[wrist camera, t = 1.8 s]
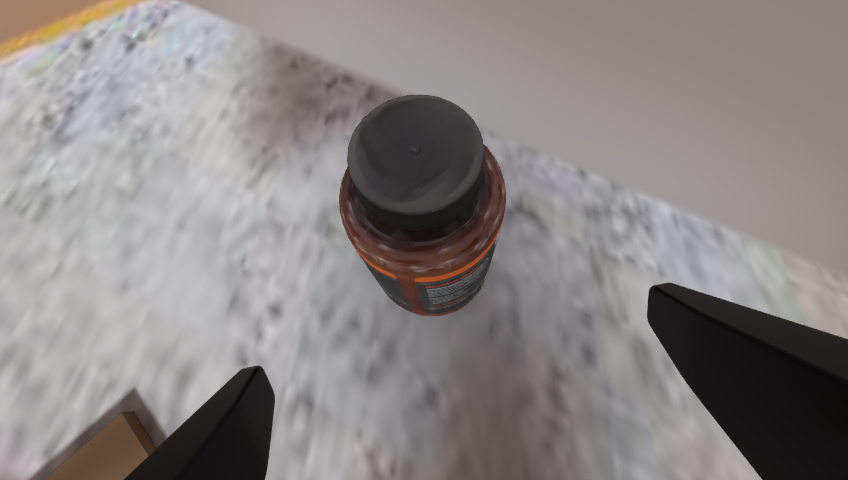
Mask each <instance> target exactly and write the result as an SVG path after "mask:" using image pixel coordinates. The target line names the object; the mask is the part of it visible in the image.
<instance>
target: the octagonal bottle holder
mask: <svg viewBox="0 0 848 480" xmlns="http://www.w3.org/2000/svg"><path fill="white" fill-rule="evenodd" d="M155 449H156V447H155V445H154V444H153V442H152V440H151V439H150V437H149V436H148V434H147V433H146V431H145V429H144V428H143V426H142V425H141V423H140V421H139V420H138V418H137V417H136V415H135V414H134V412H124V413H120V414H119V415H118V416H117V417H116V418H115V419H113V420H112V421H111V422H110V423H109V424H108V425H107V426H105V427H104V428H103V429H102V430H101V431H100V432H98V433H97V434H96V435H95V436H94V437H93V438H92V439H90V440H89V441H88V442H87V443H86V444H85V445H84V446H82V447H81V448H80V449H79V450H78V451H77V452H75V453H74V454H73V455H72V456H71V457H70V458H69V459H67V460H66V461H65V462H64V463H63V464H62V465H60V466H59V467H58V468H57V469H56V470H55V471H54V472H52V473H51V474H50V475H49V476H48V477H47V478H45V479H44V480H123V479H124V478H125V477H126V476H127V475H129V474H130V473H131V472H132V471H133V470H134V469H135V468H136V467H137V466H138V465H139V464H140V463H141V462H142V461H144V460H145V459H146V458H147V457H148V456H149V455H150V454H151V453H152V452H153V451H154V450H155Z"/></svg>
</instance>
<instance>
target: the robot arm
mask: <svg viewBox="0 0 848 480" xmlns="http://www.w3.org/2000/svg"><path fill="white" fill-rule="evenodd" d="M647 318H648V322H649V325H650V326H651V328H652V330H653V331H654V333H655V334H656V336H657V338H658V339H659V341H660V342H661V344H662V345H663V347H664V349H665V350H666V352H667V353H668V355H669V357H670V358H671V360H672V361H673V363H674V364H675V366H676V368H677V369H678V371H679V372H680V374H681V375H682V377H683V378H684V380H685V381H686V383H687V384H688V385H689V387H690V388H691V389H692V391H693V392H694V393H695V395H696V396H697V397H698V398H699V400H700V401H701V402H702V403H703V405H704V406H705V407H706V409H707V410H708V411H709V412H710V414H711V415H712V416H713V417H714V419H715V420H716V421H717V423H718V424H719V425H720V426H721V428H722V429H723V430H724V431H725V433H726V434H727V435H728V436H729V438H730V439H731V440H732V442H733V443H734V444H735V445H736V447H737V448H738V449H739V450H740V452H741V453H742V454H743V456H744V457H745V458H746V459H747V461H748V462H749V463H750V464H751V466H752V467H753V468H754V470H755V471H756V472H757V473H758V475H759V476H760V477H761V478H762V480H848V339H845V338H842V337H839V336H836V335H833V334H830V333H827V332H823V331H820V330H817V329H814V328H811V327H808V326H805V325H801V324H798V323H795V322H792V321H789V320H786V319H783V318H779V317H776V316H773V315H770V314H767V313H764V312H761V311H757V310H754V309H751V308H748V307H745V306H742V305H739V304H735V303H732V302H729V301H726V300H723V299H720V298H717V297H714V296H710V295H707V294H704V293H701V292H698V291H695V290H692V289H688V288H685V287H682V286H679V285H676V284H673V283H663V284H659V285H654V286H652V287H651V288H650V290H649V296H648V309H647ZM274 405H275V395H274V391H273V389H272V387H271V384H270V382H269V380H268V378H267V376H266V373H265V371H264V369H263V368H262V367H261V366H253V367H248V368H243V369H241V370H240V371H239V372H238V373H237V374H236V375H235V376H233V377H232V378H231V379H230V380H229V381H228V382H227V383H226V384H225V385H224V386H223V387H222V388H221V389H220V390H218V391H217V392H216V393H215V394H214V395H213V396H212V397H211V398H210V399H209V400H208V401H207V402H206V403H205V404H203V405H202V406H201V407H200V408H199V409H198V410H197V411H196V412H195V413H194V414H193V415H192V416H191V417H190V418H189V419H187V420H186V421H185V422H184V423H183V424H182V425H181V426H180V427H179V428H178V429H177V430H176V431H175V432H174V433H172V434H171V435H170V436H169V437H168V438H167V439H166V440H165V441H164V442H163V443H162V444H161V445H160V446H159V447H157V448H156V449H155V450H154V451H153V452H152V453H151V454H150V455H149V456H148V457H147V458H146V459H145V460H144V461H142V462H141V463H140V464H139V465H138V466H137V467H136V468H135V469H134V470H133V471H132V472H131V473H130V474H129V475H127V476H126V477H125V478H124V479H123V480H265V477H266V472H267V466H268V459H269V450H270V441H271V432H272V423H273V414H274Z"/></svg>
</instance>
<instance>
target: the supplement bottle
mask: <svg viewBox="0 0 848 480" xmlns="http://www.w3.org/2000/svg"><path fill="white" fill-rule="evenodd" d="M347 162H348V167H347V169H346V171H345V174H344V177H343V179H342V183H341V187H340V194H339V204H340V214H341V218H342V222H343V225H344V228H345V230H346V233H347V235H348V237H349V239H350V241H351V243H352V244H353V246H354V247H355V249H356V250H357V252H358V253H359V255H360V256H361V258H362V259H363V261H364V262H365V264H366V265H367V267H368V269H369V270H370V271H371V273H372V274H373V275H374V277H375V278H376V280H377V281H378V283H379V284H380V286H381V287H382V288H383V290H384V291H385V293H386V294H387V295H388V296H389V297H390V298H391V299H392V300H393V301H394V302H395V303H396V304H398V305H399V306H401V307H402V308H404V309H406V310H408V311H410V312H413V313H416V314H419V315H425V316H440V315H445V314H448V313H451V312H454V311H456V310H458V309H460V308H462V307H463V306H465V305H466V304H467V303H469V302H470V301H471V300H472V299H473V298H474V297H475V296H476V294H477V293H478V292H479V290H480V288H481V287H482V285H483V283H484V281H485V279H486V276H487V273H488V269H489V266H490V263H491V259H492V256H493V253H494V249H495V246H496V242H497V239H498V235H499V231H500V228H501V224H502V221H503V217H504V212H505V203H506V189H505V183H504V179H503V176H502V173H501V170H500V167H499V165H498V163H497V161H496V160H495V157H494V156H493V155H492V153H491V152H490V151H489V149H488V147H486V146H485V145H484V144H483V139H482V136H481V133H480V131H479V129H478V127H477V125H476V124H475V122H474V120H473V119H472V118H471V117H470V116H469V115H468V114H467V113H466V112H465V111H464V110H463V109H461V108H460V107H459V106H457V105H456V104H454V103H452V102H450V101H447V100H445V99H442V98H439V97H435V96H429V95H408V96H403V97H398V98H395V99H392V100H388V101H387V102H385V103H383V104H381V105H380V106H378V107H377V108H375V109H374V110H373V111H371V112H370V113H369V114H368V115H367V116H365V117H364V118H363V119H362V121H361V122H360V124H359V125H358V126H357V127H356V129H355V131H354V133H353V134H352V138H351V140H350V143H349V147H348V157H347Z"/></svg>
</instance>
